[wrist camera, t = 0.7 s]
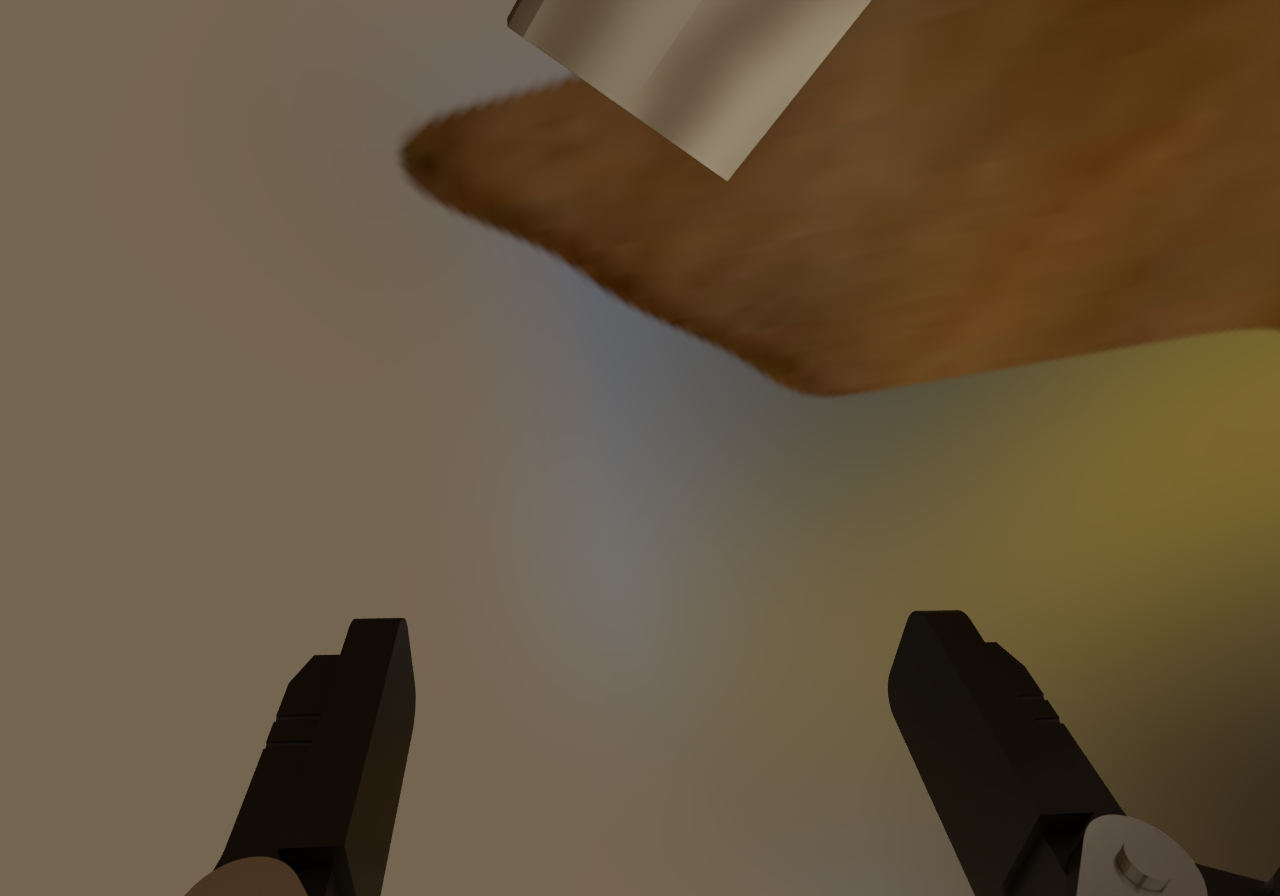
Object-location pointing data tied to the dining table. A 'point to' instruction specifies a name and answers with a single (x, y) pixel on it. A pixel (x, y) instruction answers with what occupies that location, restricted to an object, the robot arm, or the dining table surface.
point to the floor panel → (692, 61)
